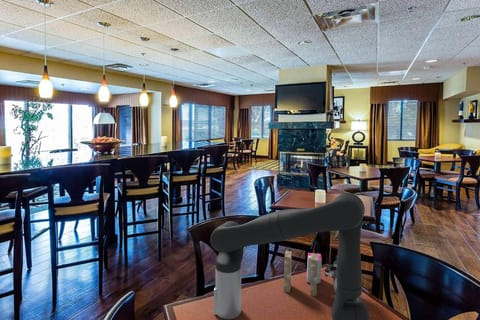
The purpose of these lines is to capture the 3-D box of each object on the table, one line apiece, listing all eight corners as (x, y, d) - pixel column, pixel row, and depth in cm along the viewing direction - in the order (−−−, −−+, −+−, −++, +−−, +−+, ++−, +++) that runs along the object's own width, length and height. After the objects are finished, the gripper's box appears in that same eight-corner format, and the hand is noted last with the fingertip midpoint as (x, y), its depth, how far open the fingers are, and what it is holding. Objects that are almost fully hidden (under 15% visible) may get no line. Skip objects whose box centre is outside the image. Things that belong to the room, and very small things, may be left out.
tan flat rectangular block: (283, 291, 124) (284, 256, 122) (285, 284, 130) (285, 250, 128) (289, 292, 123) (290, 257, 121) (290, 285, 129) (291, 251, 127)
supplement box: (320, 284, 129) (321, 259, 128) (306, 283, 130) (307, 258, 129) (320, 278, 135) (321, 253, 133) (306, 276, 136) (307, 252, 135)
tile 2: (310, 295, 121) (311, 259, 120) (310, 287, 127) (311, 253, 125) (316, 296, 121) (317, 260, 119) (316, 288, 127) (317, 253, 125)
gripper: (367, 277, 104) (360, 256, 121) (324, 272, 107) (323, 252, 124) (366, 298, 105) (359, 274, 122) (323, 292, 108) (322, 270, 125)
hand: (341, 263), depth 123 cm, fingers open, 3 cm apart
